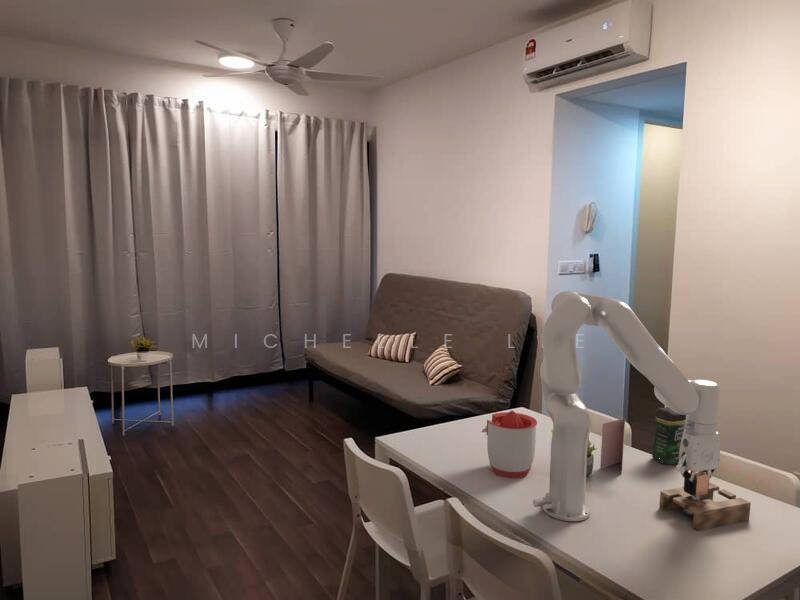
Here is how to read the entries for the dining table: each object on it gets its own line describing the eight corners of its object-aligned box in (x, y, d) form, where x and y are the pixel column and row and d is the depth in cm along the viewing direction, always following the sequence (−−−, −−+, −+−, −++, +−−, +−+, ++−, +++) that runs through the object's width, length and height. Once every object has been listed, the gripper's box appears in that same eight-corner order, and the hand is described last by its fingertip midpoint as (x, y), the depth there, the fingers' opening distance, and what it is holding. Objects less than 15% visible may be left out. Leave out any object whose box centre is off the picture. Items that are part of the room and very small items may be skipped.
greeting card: (620, 460, 197) (623, 417, 195) (639, 468, 190) (642, 423, 189) (598, 467, 191) (600, 423, 189) (617, 475, 184) (620, 429, 182)
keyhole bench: (696, 530, 151) (698, 512, 150) (659, 507, 163) (660, 490, 162) (749, 520, 157) (750, 502, 156) (709, 499, 169) (710, 482, 168)
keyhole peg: (694, 518, 155) (697, 477, 154) (679, 509, 160) (682, 469, 159) (708, 515, 157) (712, 474, 156) (694, 507, 162) (697, 467, 160)
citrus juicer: (488, 457, 198) (490, 400, 196) (539, 466, 191) (542, 407, 188) (474, 474, 184) (475, 413, 182) (529, 485, 177) (531, 421, 174)
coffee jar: (668, 467, 191) (672, 412, 189) (648, 458, 198) (651, 405, 196) (687, 462, 196) (691, 408, 193) (667, 454, 203) (671, 402, 200)
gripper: (687, 434, 149) (682, 502, 152) (736, 428, 155) (731, 493, 157) (665, 425, 157) (660, 490, 159) (713, 419, 162) (708, 482, 164)
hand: (695, 491), depth 158 cm, fingers closed on keyhole peg, 4 cm apart
